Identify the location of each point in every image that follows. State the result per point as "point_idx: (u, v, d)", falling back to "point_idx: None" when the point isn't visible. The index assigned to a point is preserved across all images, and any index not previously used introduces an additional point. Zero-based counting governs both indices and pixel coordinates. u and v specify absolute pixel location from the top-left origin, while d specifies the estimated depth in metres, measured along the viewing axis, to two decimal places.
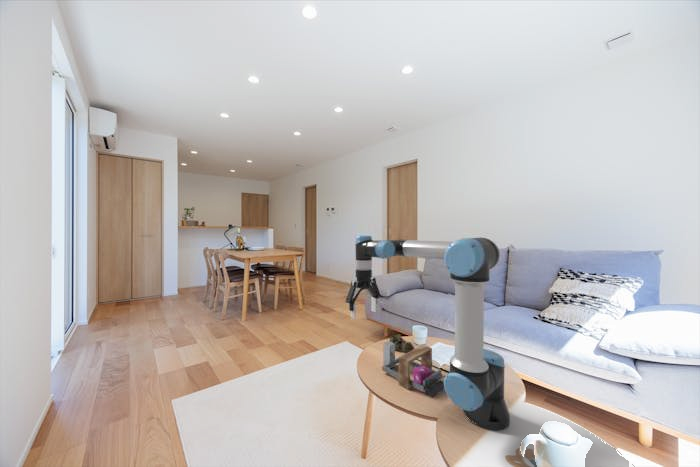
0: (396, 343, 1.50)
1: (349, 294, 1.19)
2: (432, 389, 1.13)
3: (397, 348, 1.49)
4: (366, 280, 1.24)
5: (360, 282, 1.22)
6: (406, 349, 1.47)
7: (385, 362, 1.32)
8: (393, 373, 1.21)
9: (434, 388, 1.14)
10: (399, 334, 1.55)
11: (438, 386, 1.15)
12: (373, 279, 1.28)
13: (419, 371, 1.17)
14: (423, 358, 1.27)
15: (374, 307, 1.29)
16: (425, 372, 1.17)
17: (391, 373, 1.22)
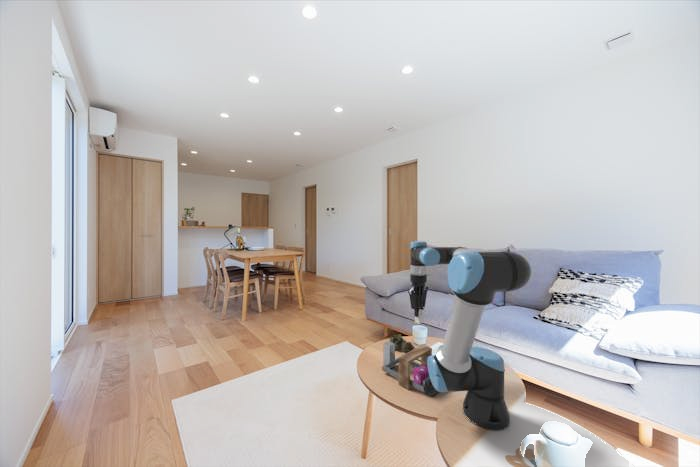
0: (396, 343, 1.51)
1: (412, 302, 1.25)
2: (432, 389, 1.13)
3: (397, 348, 1.49)
4: None
5: (416, 287, 1.25)
6: (406, 349, 1.47)
7: (385, 362, 1.32)
8: (393, 373, 1.21)
9: (434, 388, 1.14)
10: (399, 334, 1.56)
11: None
12: (426, 287, 1.30)
13: (419, 371, 1.17)
14: (423, 358, 1.27)
15: None
16: (425, 372, 1.17)
17: (391, 373, 1.22)
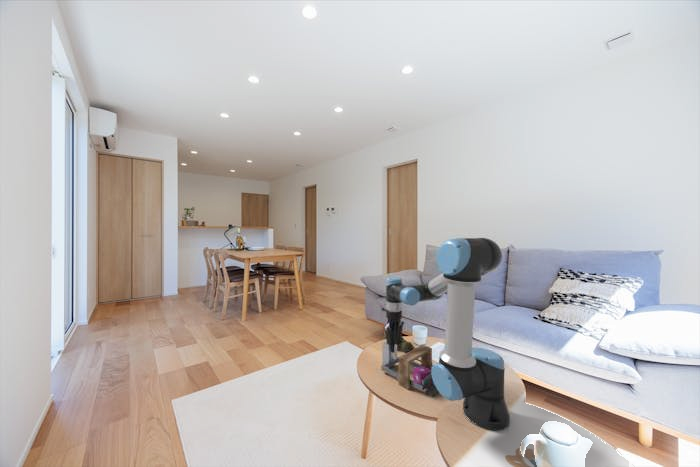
0: None
1: (387, 338, 1.28)
2: (432, 389, 1.13)
3: None
4: None
5: (391, 323, 1.27)
6: (406, 349, 1.47)
7: (384, 362, 1.32)
8: (392, 372, 1.22)
9: (434, 388, 1.14)
10: None
11: None
12: (402, 322, 1.33)
13: (419, 371, 1.17)
14: (423, 358, 1.27)
15: None
16: (425, 372, 1.17)
17: (390, 372, 1.22)
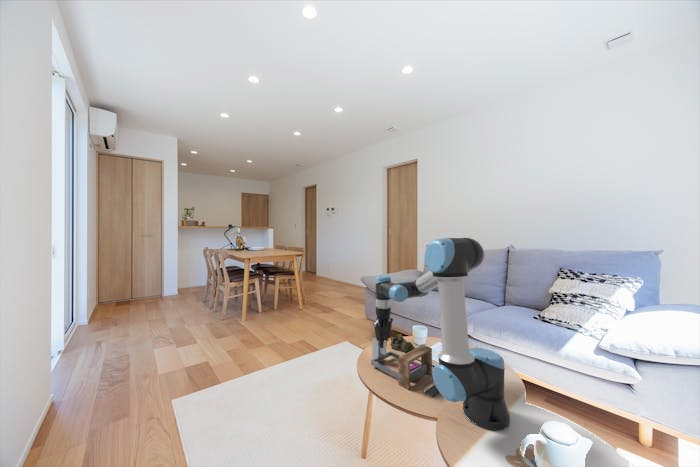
0: (396, 342, 1.51)
1: (377, 334, 1.33)
2: (432, 389, 1.13)
3: (397, 347, 1.50)
4: None
5: (380, 320, 1.32)
6: (405, 349, 1.47)
7: (374, 357, 1.37)
8: (381, 367, 1.27)
9: (434, 388, 1.14)
10: (400, 334, 1.56)
11: None
12: (391, 319, 1.38)
13: None
14: (423, 358, 1.27)
15: None
16: (413, 366, 1.21)
17: (379, 367, 1.27)
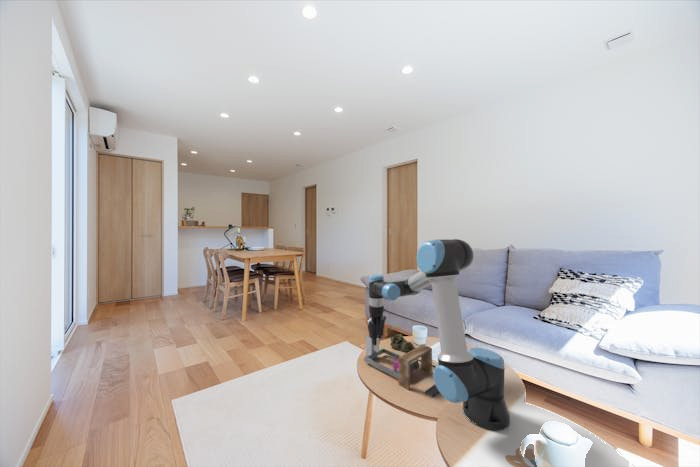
0: (396, 342, 1.52)
1: (370, 332, 1.36)
2: (432, 389, 1.13)
3: (397, 347, 1.50)
4: None
5: (373, 318, 1.36)
6: (405, 349, 1.47)
7: (367, 354, 1.41)
8: (373, 363, 1.30)
9: (434, 388, 1.14)
10: None
11: None
12: (384, 317, 1.42)
13: None
14: (423, 358, 1.27)
15: None
16: None
17: (372, 363, 1.31)
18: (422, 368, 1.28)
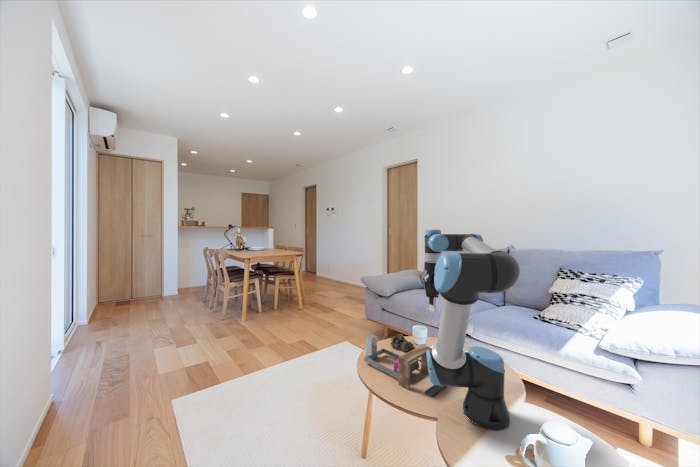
0: (397, 342, 1.52)
1: (427, 290, 1.26)
2: (432, 389, 1.13)
3: (397, 347, 1.50)
4: None
5: (431, 274, 1.26)
6: (405, 348, 1.47)
7: (367, 354, 1.41)
8: (374, 363, 1.30)
9: (434, 388, 1.14)
10: None
11: (438, 386, 1.15)
12: None
13: None
14: (423, 358, 1.27)
15: None
16: None
17: (372, 363, 1.31)
18: (422, 368, 1.28)
